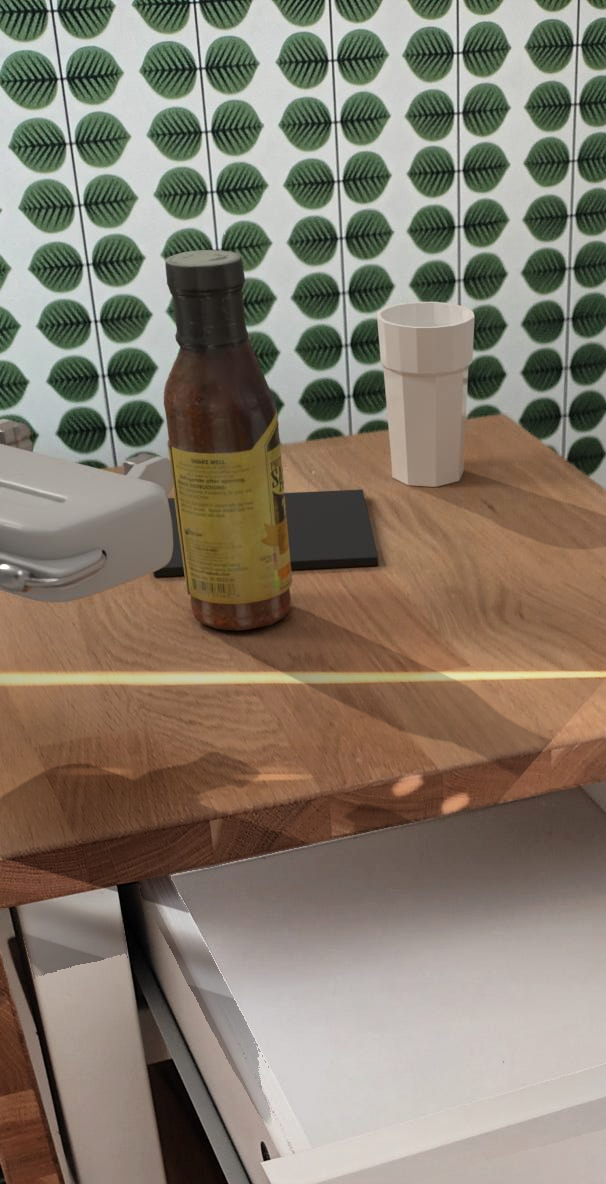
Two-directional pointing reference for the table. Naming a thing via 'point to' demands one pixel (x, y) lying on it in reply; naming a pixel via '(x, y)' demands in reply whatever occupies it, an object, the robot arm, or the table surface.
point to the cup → (426, 388)
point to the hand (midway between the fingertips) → (89, 453)
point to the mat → (312, 532)
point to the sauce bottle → (224, 451)
